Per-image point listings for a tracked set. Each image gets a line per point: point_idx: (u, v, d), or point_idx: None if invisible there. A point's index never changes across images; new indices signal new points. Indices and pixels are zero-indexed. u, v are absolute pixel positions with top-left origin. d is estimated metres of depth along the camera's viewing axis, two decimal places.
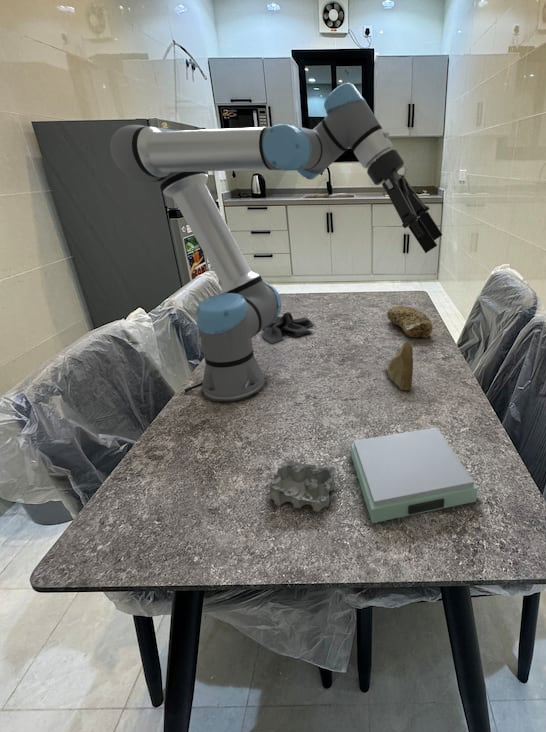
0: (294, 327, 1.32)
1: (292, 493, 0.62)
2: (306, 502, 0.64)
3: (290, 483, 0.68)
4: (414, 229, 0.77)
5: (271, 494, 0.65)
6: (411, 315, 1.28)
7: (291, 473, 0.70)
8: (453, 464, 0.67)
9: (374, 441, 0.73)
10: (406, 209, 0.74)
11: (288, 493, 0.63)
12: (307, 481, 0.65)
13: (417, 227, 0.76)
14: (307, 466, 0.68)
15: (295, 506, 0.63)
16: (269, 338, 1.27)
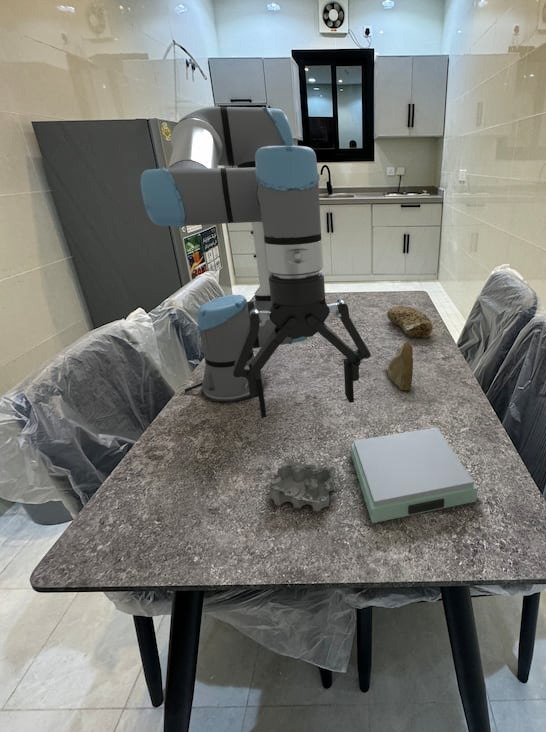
0: None
1: (292, 493, 0.62)
2: (306, 502, 0.64)
3: (290, 483, 0.68)
4: None
5: (271, 494, 0.65)
6: (411, 315, 1.28)
7: (291, 473, 0.70)
8: (453, 464, 0.67)
9: (374, 441, 0.73)
10: (236, 361, 0.54)
11: (288, 493, 0.63)
12: (307, 481, 0.65)
13: (248, 385, 0.56)
14: (307, 466, 0.68)
15: (295, 506, 0.63)
16: None
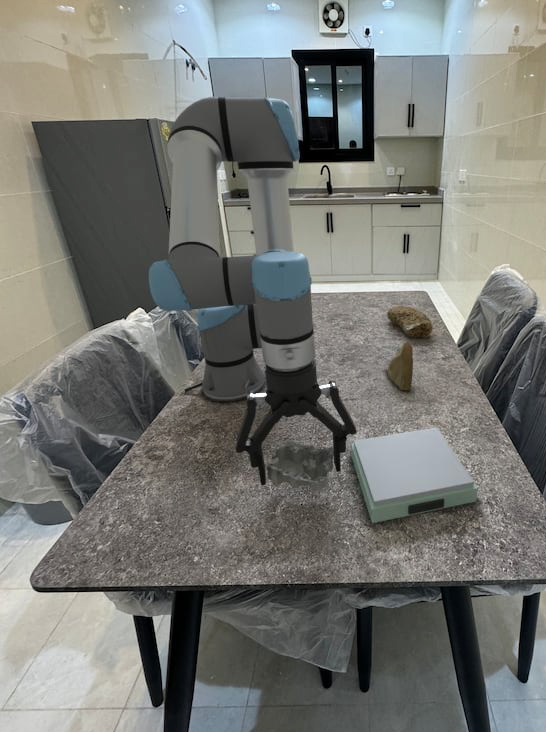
0: None
1: (290, 473, 0.61)
2: (304, 482, 0.63)
3: (288, 464, 0.67)
4: None
5: (269, 474, 0.64)
6: (411, 315, 1.28)
7: (289, 454, 0.69)
8: (453, 464, 0.67)
9: (374, 441, 0.73)
10: (238, 439, 0.59)
11: (286, 473, 0.62)
12: (305, 461, 0.64)
13: None
14: (305, 447, 0.67)
15: (293, 486, 0.62)
16: None
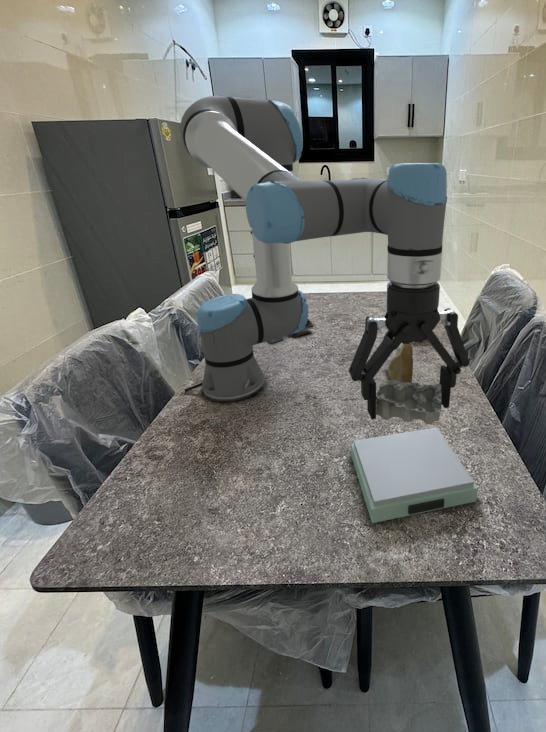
0: None
1: (404, 405, 0.59)
2: (416, 416, 0.61)
3: (392, 402, 0.65)
4: (361, 385, 0.60)
5: (378, 409, 0.62)
6: None
7: (391, 393, 0.67)
8: (453, 464, 0.67)
9: (374, 441, 0.73)
10: (354, 366, 0.57)
11: (399, 405, 0.60)
12: (415, 396, 0.62)
13: (362, 388, 0.59)
14: (409, 384, 0.65)
15: (405, 420, 0.60)
16: None
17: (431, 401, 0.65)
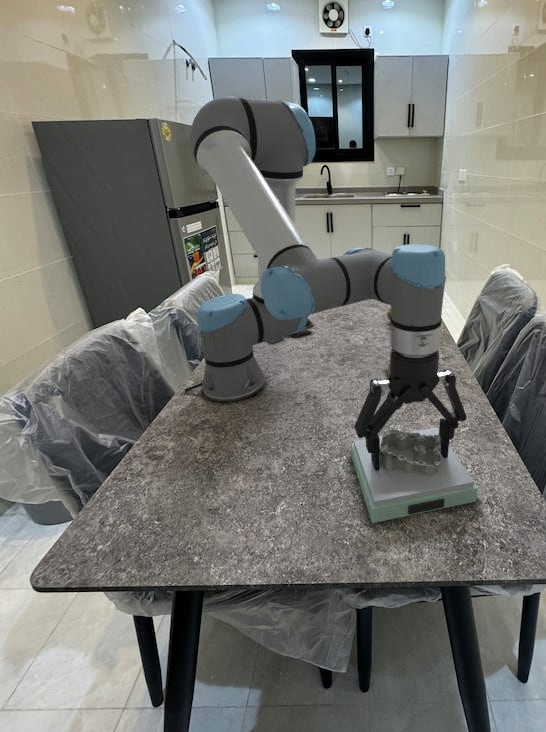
0: None
1: (405, 458, 0.64)
2: (417, 467, 0.65)
3: (394, 451, 0.70)
4: (366, 440, 0.64)
5: (381, 460, 0.66)
6: None
7: (393, 442, 0.71)
8: (453, 464, 0.67)
9: None
10: (360, 424, 0.62)
11: (401, 458, 0.64)
12: (416, 448, 0.67)
13: (367, 442, 0.64)
14: (411, 434, 0.70)
15: (407, 471, 0.65)
16: None
17: (431, 450, 0.70)
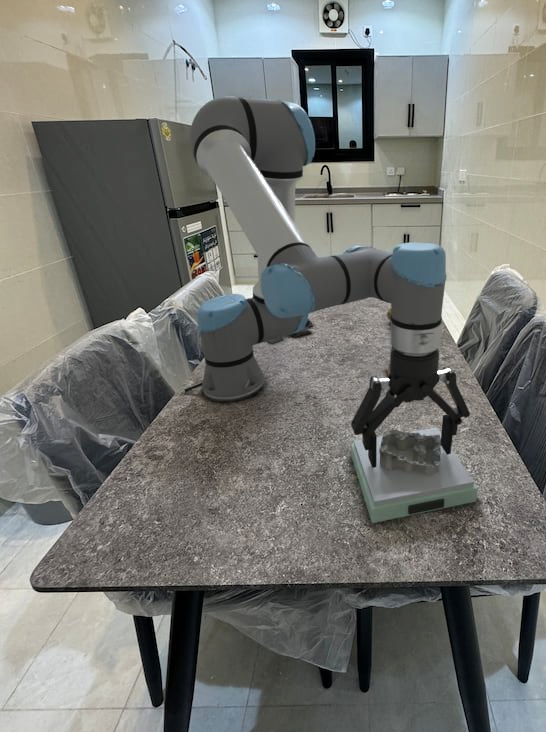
0: None
1: (406, 458, 0.64)
2: (417, 468, 0.65)
3: (394, 451, 0.70)
4: (362, 437, 0.64)
5: (381, 460, 0.66)
6: None
7: (393, 442, 0.71)
8: (453, 464, 0.67)
9: None
10: (357, 421, 0.61)
11: (401, 458, 0.64)
12: (416, 448, 0.67)
13: (363, 439, 0.63)
14: (411, 434, 0.70)
15: (407, 471, 0.65)
16: None
17: (431, 450, 0.70)
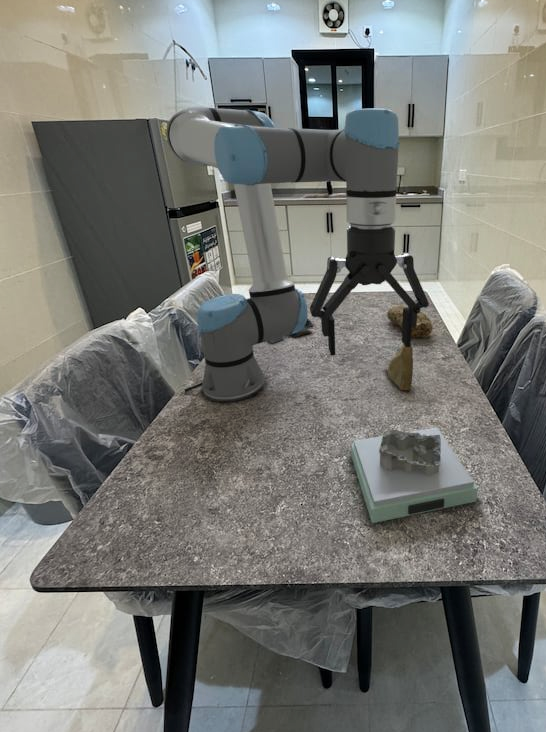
0: None
1: (405, 458, 0.64)
2: (417, 468, 0.65)
3: (394, 451, 0.70)
4: (321, 323, 0.65)
5: (381, 460, 0.66)
6: None
7: (393, 442, 0.71)
8: (453, 464, 0.67)
9: (374, 441, 0.73)
10: (314, 303, 0.62)
11: (401, 458, 0.64)
12: (416, 448, 0.67)
13: (322, 325, 0.64)
14: (411, 434, 0.70)
15: (407, 471, 0.65)
16: None
17: (431, 450, 0.70)
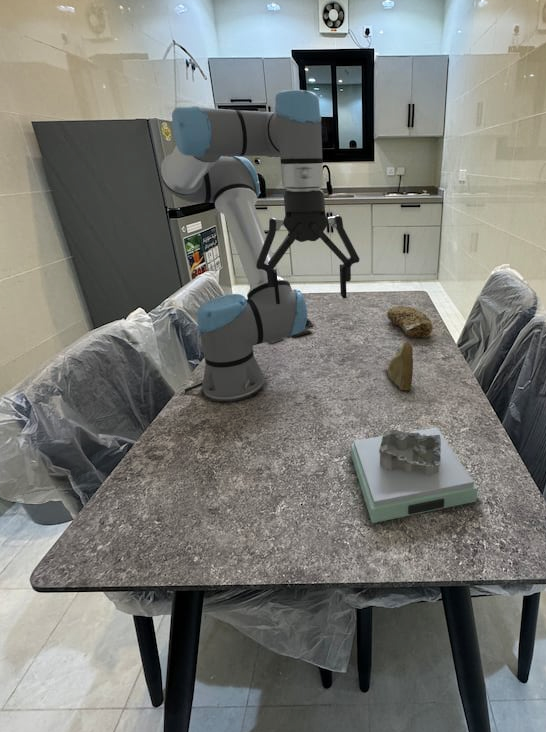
0: None
1: (405, 458, 0.64)
2: (417, 468, 0.65)
3: (394, 451, 0.70)
4: None
5: (381, 460, 0.66)
6: (411, 315, 1.28)
7: (393, 442, 0.71)
8: (453, 464, 0.67)
9: (374, 441, 0.73)
10: (259, 257, 0.73)
11: (401, 458, 0.64)
12: (416, 448, 0.67)
13: (267, 277, 0.75)
14: (411, 434, 0.70)
15: (407, 471, 0.65)
16: None
17: (431, 450, 0.70)
